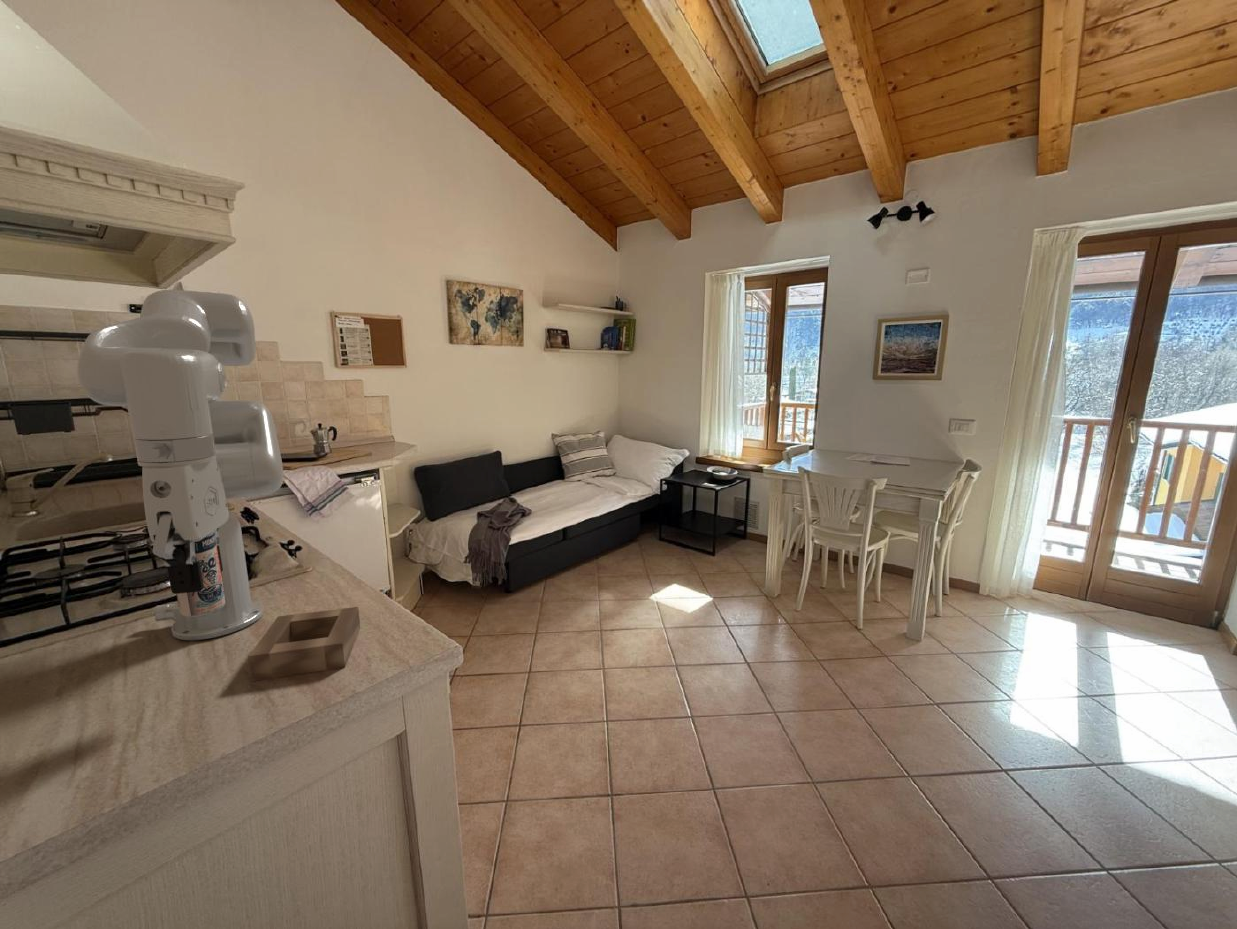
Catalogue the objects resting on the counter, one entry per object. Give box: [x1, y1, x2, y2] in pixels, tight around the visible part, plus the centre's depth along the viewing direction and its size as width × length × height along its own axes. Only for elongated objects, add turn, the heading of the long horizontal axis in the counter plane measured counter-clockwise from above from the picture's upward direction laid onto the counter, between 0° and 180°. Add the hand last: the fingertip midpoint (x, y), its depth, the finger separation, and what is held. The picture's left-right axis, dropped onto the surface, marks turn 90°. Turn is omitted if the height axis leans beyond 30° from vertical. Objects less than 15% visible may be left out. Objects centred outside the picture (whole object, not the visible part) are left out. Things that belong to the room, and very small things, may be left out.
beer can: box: [173, 531, 225, 618], centre depth 66 cm, size 5×5×12 cm
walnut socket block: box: [248, 606, 361, 682], centre depth 78 cm, size 12×12×4 cm
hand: (198, 581), depth 66 cm, fingers closed on beer can, 4 cm apart
